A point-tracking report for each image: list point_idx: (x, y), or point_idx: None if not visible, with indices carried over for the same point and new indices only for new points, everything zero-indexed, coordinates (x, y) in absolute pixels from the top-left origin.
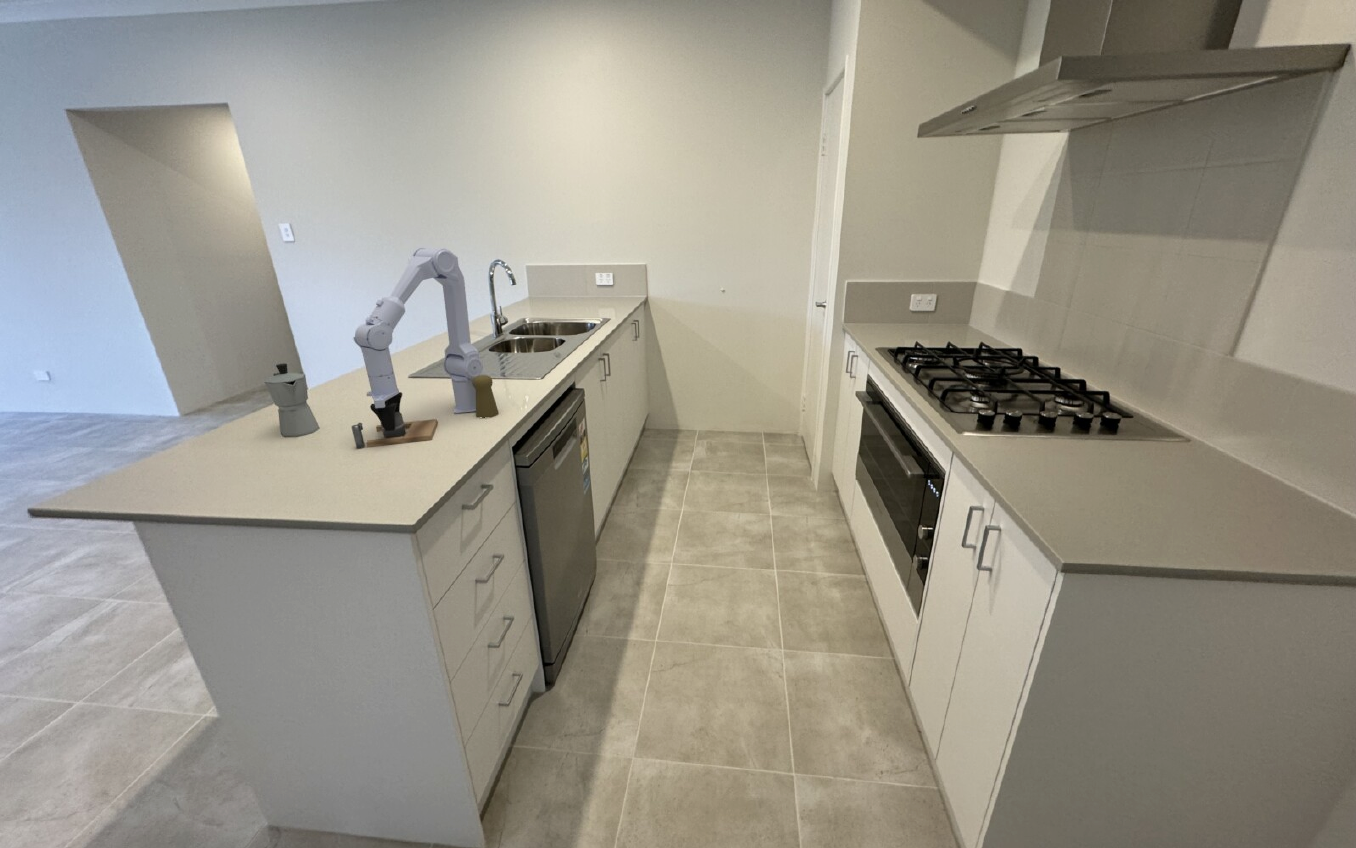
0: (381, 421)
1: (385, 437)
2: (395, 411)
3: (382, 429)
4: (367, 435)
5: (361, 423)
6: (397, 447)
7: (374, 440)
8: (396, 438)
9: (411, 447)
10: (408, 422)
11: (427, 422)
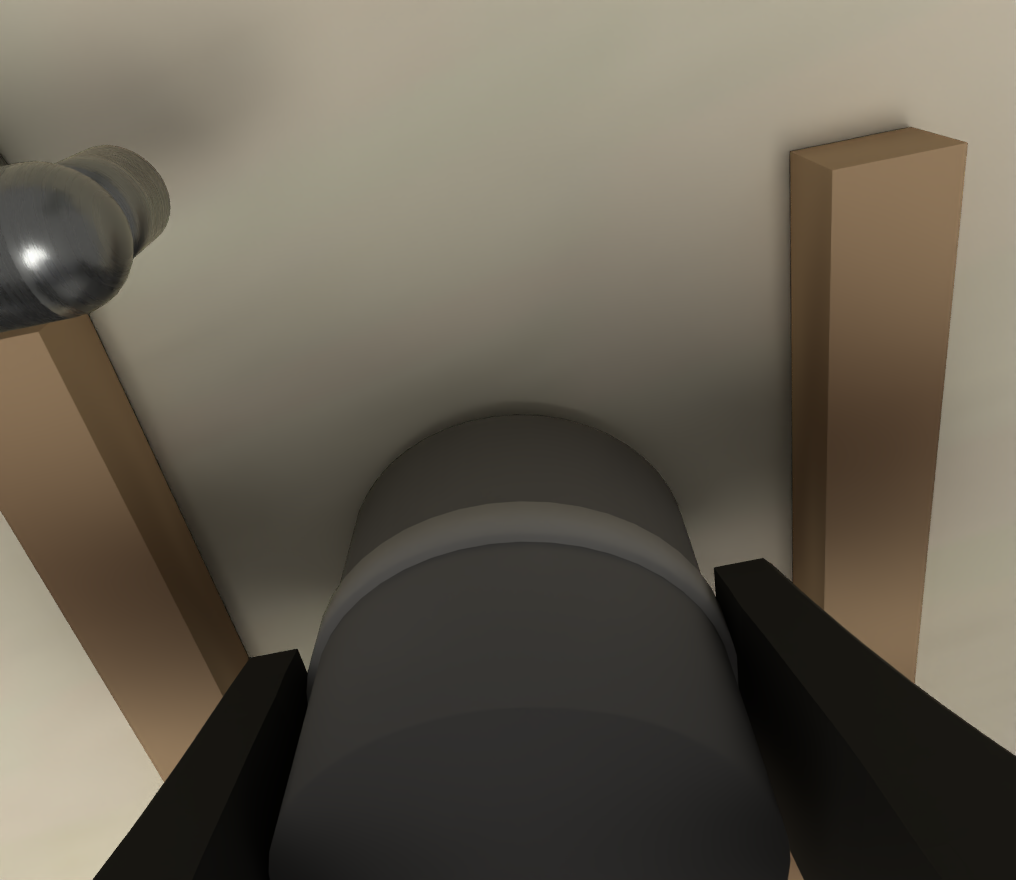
0: (120, 864)
1: (380, 476)
2: (828, 877)
3: (401, 531)
4: (604, 26)
5: (54, 314)
6: (44, 733)
7: (50, 466)
8: (177, 743)
9: (70, 860)
10: (886, 652)
11: (790, 855)
